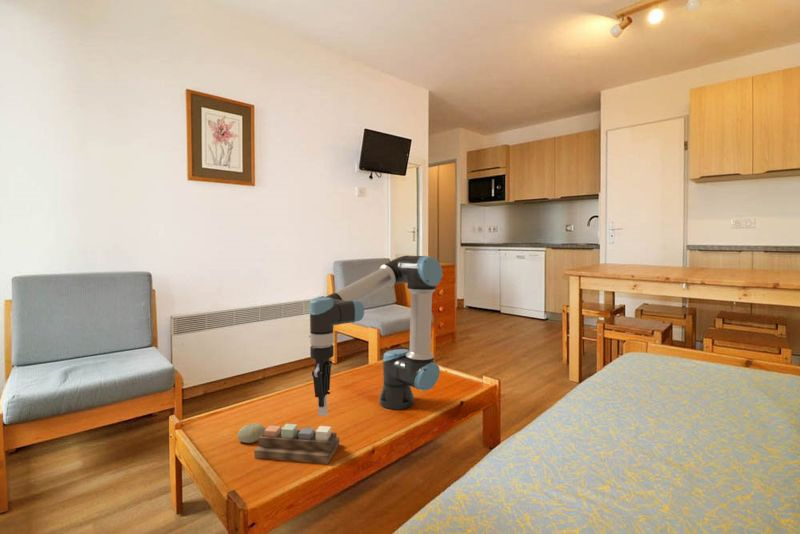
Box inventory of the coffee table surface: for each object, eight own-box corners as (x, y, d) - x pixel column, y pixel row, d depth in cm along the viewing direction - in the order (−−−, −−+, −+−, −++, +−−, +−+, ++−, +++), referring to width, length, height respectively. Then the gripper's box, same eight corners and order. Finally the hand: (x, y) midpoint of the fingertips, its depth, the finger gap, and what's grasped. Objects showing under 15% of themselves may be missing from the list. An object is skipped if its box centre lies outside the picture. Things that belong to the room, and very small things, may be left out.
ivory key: (331, 436, 133) (331, 426, 132) (327, 442, 129) (327, 432, 129) (319, 435, 133) (319, 425, 133) (315, 441, 129) (315, 431, 129)
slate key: (314, 438, 134) (314, 428, 133) (309, 444, 130) (309, 434, 129) (303, 437, 134) (302, 427, 134) (298, 443, 130) (298, 433, 130)
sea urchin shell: (239, 427, 145) (255, 412, 145) (255, 441, 146) (271, 426, 146) (231, 440, 136) (247, 423, 136) (248, 455, 137) (264, 438, 137)
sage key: (297, 434, 134) (297, 424, 134) (292, 440, 130) (292, 429, 130) (286, 433, 135) (286, 423, 135) (281, 439, 131) (281, 429, 131)
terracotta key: (281, 435, 135) (280, 426, 135) (275, 441, 131) (275, 431, 131) (270, 435, 136) (269, 425, 136) (264, 440, 132) (264, 430, 132)
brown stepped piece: (339, 444, 137) (339, 429, 136) (328, 463, 125) (327, 447, 125) (271, 439, 140) (271, 424, 140) (254, 457, 128) (254, 441, 128)
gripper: (318, 339, 136) (318, 406, 137) (303, 349, 123) (304, 423, 124) (338, 340, 135) (339, 407, 136) (326, 350, 122) (327, 424, 123)
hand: (322, 414), depth 130 cm, fingers closed
